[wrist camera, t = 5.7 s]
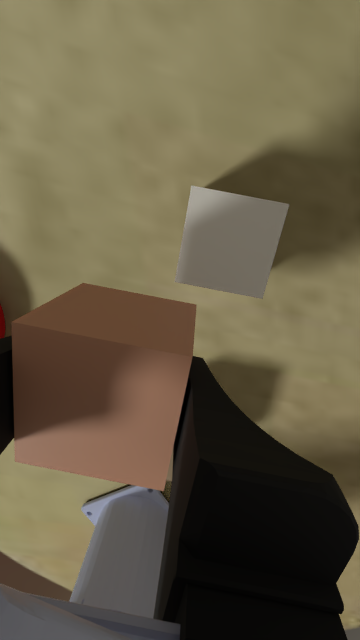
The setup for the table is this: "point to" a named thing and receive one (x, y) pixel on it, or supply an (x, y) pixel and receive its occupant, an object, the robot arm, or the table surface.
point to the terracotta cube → (101, 383)
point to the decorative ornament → (2, 323)
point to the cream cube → (229, 241)
